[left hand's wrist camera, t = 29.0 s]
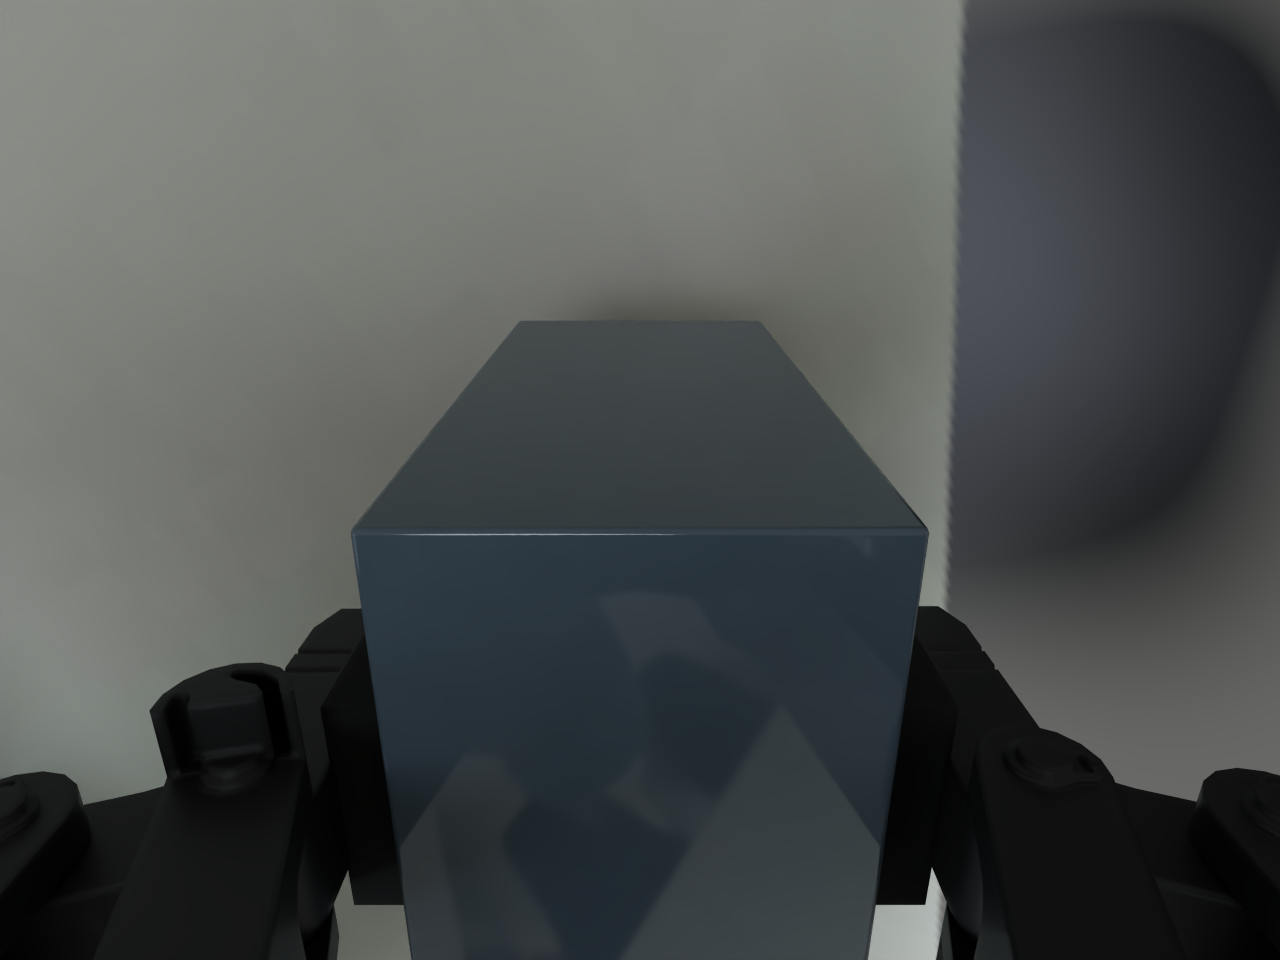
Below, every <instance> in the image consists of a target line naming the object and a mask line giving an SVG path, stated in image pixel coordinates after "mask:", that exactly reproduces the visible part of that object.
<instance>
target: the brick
mask: <svg viewBox="0 0 1280 960" xmlns="http://www.w3.org/2000/svg"><path fill="white" fill-rule="evenodd" d="M928 536H929V532H928V529H927V527H926V526H925V525H924V523H923V522H922V521H921V520H920V518H919V517H918V516H917V515H916V513H915V512H914V511H913V510H912V509H911V507H910V506H909V505H908V504H907V502H906V501H905V500H904V499H903V497H902V496H901V495H900V494H899V492H898V491H897V490H896V489H895V488H894V486H893V485H892V484H891V483H890V481H889V480H888V479H887V478H886V476H885V475H884V474H883V473H882V471H881V470H880V469H879V468H878V466H877V465H876V464H875V463H874V462H873V460H872V459H871V458H870V457H869V455H868V454H867V453H866V452H865V450H864V449H863V448H862V447H861V445H860V444H859V443H858V442H857V441H856V439H855V438H854V437H853V436H852V434H851V433H850V432H849V431H848V429H847V428H846V427H845V426H844V424H843V423H842V422H841V421H840V419H839V418H838V417H837V416H836V415H835V413H834V412H833V411H832V410H831V408H830V407H829V406H828V405H827V403H826V402H825V401H824V400H823V398H822V397H821V396H820V395H819V394H818V392H817V391H816V390H815V389H814V387H813V386H812V385H811V384H810V382H809V381H808V380H807V379H806V377H805V376H804V375H803V374H802V372H801V371H800V370H799V369H798V368H797V366H796V365H795V364H794V363H793V361H792V360H791V359H790V358H789V356H788V355H787V354H786V353H785V351H784V350H783V349H782V348H781V347H780V345H779V344H778V343H777V342H776V340H775V339H774V338H773V337H772V335H771V334H770V333H769V332H768V330H767V329H766V328H765V327H764V325H763V324H762V323H761V322H760V321H519V322H518V323H517V325H516V326H515V327H514V328H513V330H512V331H511V332H510V333H509V335H508V336H507V337H506V338H505V340H504V341H503V342H502V343H501V345H500V346H499V347H498V348H497V350H496V351H495V352H494V353H493V354H492V356H491V357H490V358H489V359H488V361H487V362H486V363H485V364H484V366H483V367H482V368H481V369H480V371H479V372H478V373H477V374H476V376H475V377H474V378H473V379H472V380H471V382H470V383H469V384H468V385H467V387H466V388H465V389H464V390H463V392H462V393H461V394H460V395H459V397H458V398H457V399H456V400H455V402H454V403H453V404H452V405H451V407H450V408H449V409H448V410H447V411H446V413H445V414H444V415H443V416H442V418H441V419H440V420H439V421H438V423H437V424H436V425H435V426H434V428H433V429H432V430H431V431H430V433H429V434H428V435H427V436H426V437H425V439H424V440H423V441H422V442H421V444H420V445H419V446H418V447H417V449H416V450H415V451H414V452H413V454H412V455H411V456H410V457H409V459H408V460H407V461H406V462H405V463H404V465H403V466H402V467H401V468H400V470H399V471H398V472H397V473H396V475H395V476H394V477H393V478H392V480H391V481H390V482H389V483H388V485H387V486H386V487H385V488H384V490H383V491H382V492H381V493H380V494H379V496H378V497H377V498H376V499H375V501H374V502H373V503H372V504H371V506H370V507H369V508H368V509H367V511H366V512H365V513H364V514H363V516H362V517H361V518H360V519H359V520H358V522H357V523H356V524H355V525H354V527H353V528H352V531H351V538H352V545H353V552H354V559H355V566H356V573H357V580H358V587H359V594H360V601H361V608H362V615H363V622H364V629H365V636H366V643H367V650H368V657H369V664H370V671H371V678H372V685H373V692H374V699H375V706H376V713H377V720H378V727H379V734H380V741H381V749H382V756H383V763H384V770H385V777H386V784H387V791H388V798H389V805H390V812H391V819H392V826H393V833H394V840H395V847H396V854H397V861H398V868H399V875H400V882H401V889H402V896H403V903H404V910H405V917H406V924H407V931H408V938H409V945H410V952H411V959H412V960H868V955H869V948H870V941H871V934H872V927H873V920H874V913H875V906H876V899H877V892H878V885H879V878H880V871H881V865H882V858H883V851H884V844H885V837H886V830H887V823H888V816H889V809H890V802H891V795H892V788H893V781H894V774H895V767H896V760H897V753H898V746H899V739H900V732H901V725H902V718H903V711H904V704H905V697H906V690H907V683H908V676H909V669H910V662H911V655H912V648H913V641H914V634H915V627H916V620H917V613H918V606H919V599H920V592H921V585H922V578H923V571H924V564H925V557H926V550H927V543H928Z"/></svg>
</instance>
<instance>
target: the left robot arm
mask: <svg viewBox="0 0 1280 960" xmlns="http://www.w3.org/2000/svg"><path fill="white" fill-rule="evenodd" d="M150 714H151V718H152V722H153V726H154V729H155V733H156V737H157V741H158V744H159V748H160V752H161V756H162V759H163V763H164V767H165V771H166V774H167V780H166V782H165V785H164V786H163V787H160V788H156V789H153V790H149V791H146V792H142V793H137V794H132V795H128V796H123V797H119V798H114V799H109V800H105V801H100V802H96V803H91V804H87V805H83V802H82V799H81V796H80V793H79V789H78V786H77V784H76V783H75V782H73V781H72V780H71V779H70V778H68V777H67V776H66V775H64V774H57V773H50V772H44V771H43V772H35V773H28V774H20V775H14V776H11V777H7V778H3V779H1V780H0V960H337V952H338V942H339V933H338V926H337V919H336V914H335V909H334V902H335V900H336V897H337V895H338V892H339V890H340V888H341V885H342V883H343V880H344V878H345V876H346V873H347V871H349V877H350V883H351V889H352V894H353V900H354V905H404V903H403V896H402V889H401V882H400V875H399V868H398V861H397V854H396V847H395V840H394V833H393V826H392V819H391V812H390V805H389V798H388V791H387V784H386V777H385V770H384V763H383V756H382V749H381V741H380V734H379V727H378V720H377V713H376V706H375V699H374V692H373V685H372V678H371V671H370V664H369V657H368V650H367V643H366V636H365V629H364V622H363V615H362V609H341V610H339V611H338V612H336V613H335V614H333V615H332V616H330V617H329V618H327V619H326V620H325V621H323V622H322V623H320V624H319V625H317V626H316V627H314V628H313V630H312V631H311V633H310V634H309V635H308V637H307V638H306V640H305V641H304V642H303V644H302V645H301V647H300V648H299V649H298V654H295V655H294V656H293V658H292V659H291V661H290V662H289V663H288V665H287V666H286V668H285V671H284V670H283V669H281V668H280V667H277V666H272V665H268V664H264V663H237V664H232V665H227V666H223V667H219V668H214V669H210V670H207V671H205V672H202V673H200V674H198V675H195V676H193V677H190V678H188V679H186V680H183V681H182V682H180V683H179V684H178V685H176V686H175V687H173V688H172V689H170V690H169V691H167V692H166V693H164V694H163V695H162V696H161V697H160V698H159V700H158V701H157V702H156V703H155V704H154V706H153V707H152V708H151V709H150ZM931 868H933V871H934V873H935V875H936V878H937V880H938V883H939V885H940V887H941V890H942V892H943V894H944V897H945V899H946V901H947V903H946V909H945V914H944V919H943V925H942V930H941V936H940V941H939V946H938V952H937V957H936V960H1280V776H1279V775H1275V774H1271V773H1268V772H1265V771H1257V770H1249V769H1242V768H1233V769H1226V770H1219V771H1215V772H1214V773H1213V774H1211V775H1210V776H1209V777H1208V778H1206V779H1205V780H1204V781H1203V784H1202V787H1201V791H1200V794H1199V797H1198V800H1197V802H1195V801H1191V800H1186V799H1181V798H1177V797H1172V796H1167V795H1163V794H1158V793H1154V792H1149V791H1144V790H1140V789H1135V788H1132V787H1128V786H1125V785H1121V784H1118V783H1115V781H1114V778H1113V776H1112V775H1111V773H1110V772H1109V771H1108V769H1107V768H1106V766H1105V765H1104V763H1103V762H1102V760H1101V759H1100V758H1098V757H1097V756H1096V755H1094V754H1093V753H1092V752H1091V751H1089V750H1088V749H1087V748H1085V747H1084V746H1083V745H1082V744H1080V743H1078V742H1076V741H1074V740H1071V739H1069V738H1067V737H1065V736H1063V735H1061V734H1059V733H1057V732H1053V731H1049V730H1045V729H1042V728H1039V726H1038V725H1037V724H1036V722H1035V721H1034V719H1033V718H1032V717H1031V715H1030V714H1029V712H1028V711H1027V710H1026V708H1025V707H1024V705H1023V704H1022V703H1021V701H1020V700H1019V698H1018V697H1017V696H1016V694H1015V693H1014V692H1013V690H1012V689H1011V687H1010V686H1009V685H1008V683H1007V682H1006V680H1005V679H1004V678H1003V676H1002V675H1001V673H1000V672H999V671H998V670H995V668H994V664H993V662H992V661H991V659H990V658H989V657H988V655H987V654H986V653H985V651H982V650H981V646H980V644H979V643H978V641H977V640H976V639H975V637H974V636H973V634H972V633H971V632H970V630H969V629H968V627H967V626H966V625H965V624H963V623H962V622H961V621H959V620H958V619H956V618H955V617H953V616H952V615H950V614H949V613H947V612H946V611H944V610H943V609H941V608H940V607H938V606H918V613H917V620H916V627H915V634H914V641H913V648H912V655H911V662H910V669H909V676H908V683H907V690H906V697H905V704H904V711H903V718H902V725H901V732H900V739H899V746H898V753H897V760H896V767H895V774H894V781H893V788H892V795H891V802H890V809H889V816H888V823H887V830H886V837H885V844H884V851H883V858H882V865H881V871H880V878H879V885H878V892H877V899H876V905H925V903H926V897H927V891H928V886H929V880H930V874H931Z"/></svg>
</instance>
